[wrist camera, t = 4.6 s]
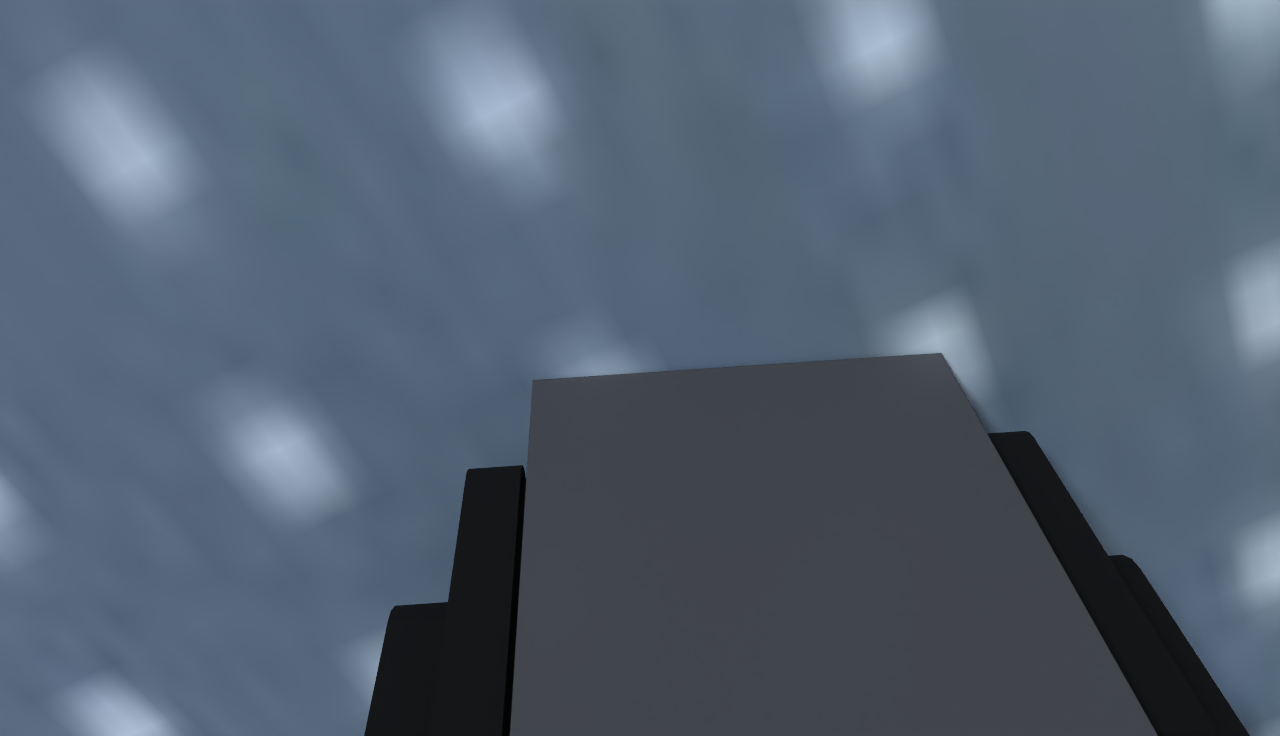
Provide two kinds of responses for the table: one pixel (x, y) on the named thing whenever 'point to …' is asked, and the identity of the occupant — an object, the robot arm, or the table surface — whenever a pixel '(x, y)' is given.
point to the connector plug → (792, 564)
